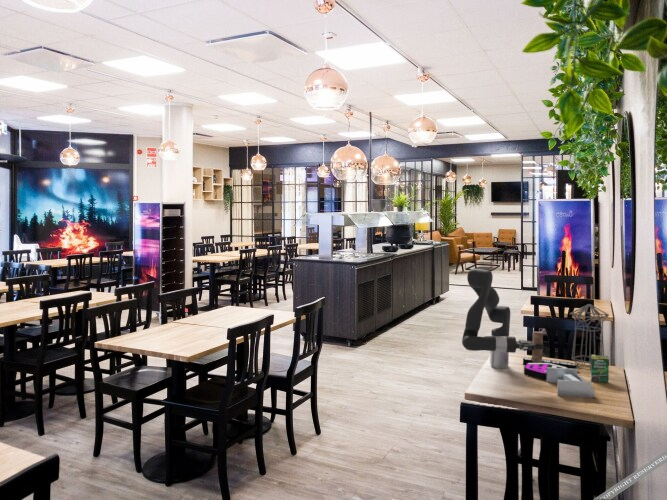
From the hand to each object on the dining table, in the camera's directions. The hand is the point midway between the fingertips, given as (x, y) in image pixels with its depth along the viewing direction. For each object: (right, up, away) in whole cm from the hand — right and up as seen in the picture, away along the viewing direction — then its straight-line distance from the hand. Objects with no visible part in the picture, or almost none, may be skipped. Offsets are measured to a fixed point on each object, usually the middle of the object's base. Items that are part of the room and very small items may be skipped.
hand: (542, 346), depth 252 cm
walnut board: (-2, -7, +1) cm, 8 cm away
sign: (+13, -20, +27) cm, 36 cm away
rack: (+11, -20, -1) cm, 23 cm away
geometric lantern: (+39, -19, +37) cm, 57 cm away
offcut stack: (+13, -20, -2) cm, 24 cm away
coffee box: (+33, -20, +12) cm, 40 cm away
